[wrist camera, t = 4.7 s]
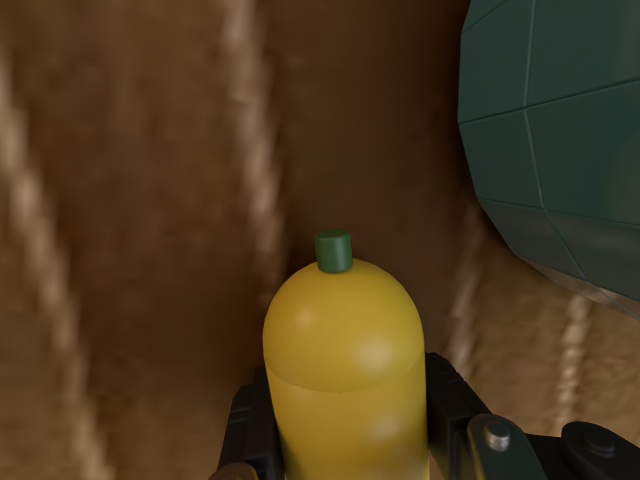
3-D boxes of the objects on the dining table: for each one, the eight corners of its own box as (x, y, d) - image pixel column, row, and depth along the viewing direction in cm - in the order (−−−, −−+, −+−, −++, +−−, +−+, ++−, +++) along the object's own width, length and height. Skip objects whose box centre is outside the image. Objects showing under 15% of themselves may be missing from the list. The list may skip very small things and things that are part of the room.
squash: (402, 464, 13) (460, 611, 9) (297, 485, 12) (305, 650, 8) (385, 208, 10) (457, 237, 6) (252, 226, 10) (228, 271, 6)
